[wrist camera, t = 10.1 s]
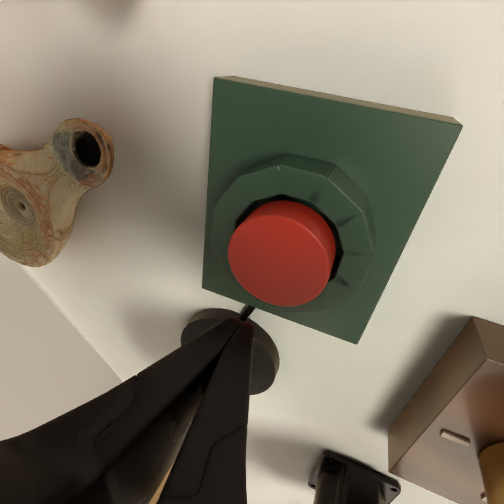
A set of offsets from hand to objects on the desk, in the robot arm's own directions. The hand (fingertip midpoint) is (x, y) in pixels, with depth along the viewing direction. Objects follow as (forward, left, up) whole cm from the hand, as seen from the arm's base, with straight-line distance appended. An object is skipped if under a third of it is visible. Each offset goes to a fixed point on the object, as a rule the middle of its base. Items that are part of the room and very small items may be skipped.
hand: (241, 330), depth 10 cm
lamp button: (0, 0, -6) cm, 6 cm away
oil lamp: (-4, +19, -9) cm, 22 cm away
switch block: (0, 0, -9) cm, 9 cm away
